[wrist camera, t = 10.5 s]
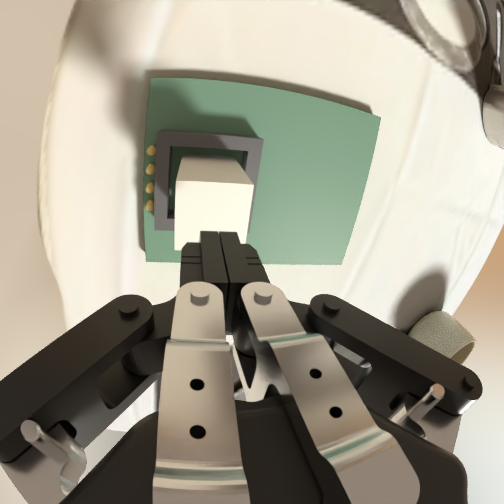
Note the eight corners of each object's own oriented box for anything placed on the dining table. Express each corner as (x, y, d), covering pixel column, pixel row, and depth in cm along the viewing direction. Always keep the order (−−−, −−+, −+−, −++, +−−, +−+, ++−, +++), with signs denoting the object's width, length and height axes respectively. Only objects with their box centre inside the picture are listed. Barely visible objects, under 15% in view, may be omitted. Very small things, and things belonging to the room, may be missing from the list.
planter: (453, 299, 42) (485, 334, 32) (424, 343, 47) (449, 378, 38) (417, 303, 38) (454, 348, 29) (386, 353, 44) (413, 396, 35)
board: (153, 79, 17) (146, 75, 14) (373, 116, 22) (394, 120, 19) (147, 255, 25) (143, 274, 22) (336, 258, 29) (349, 275, 27)
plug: (183, 153, 20) (175, 180, 13) (233, 156, 21) (253, 184, 14) (179, 210, 22) (174, 262, 15) (227, 212, 23) (242, 263, 16)
